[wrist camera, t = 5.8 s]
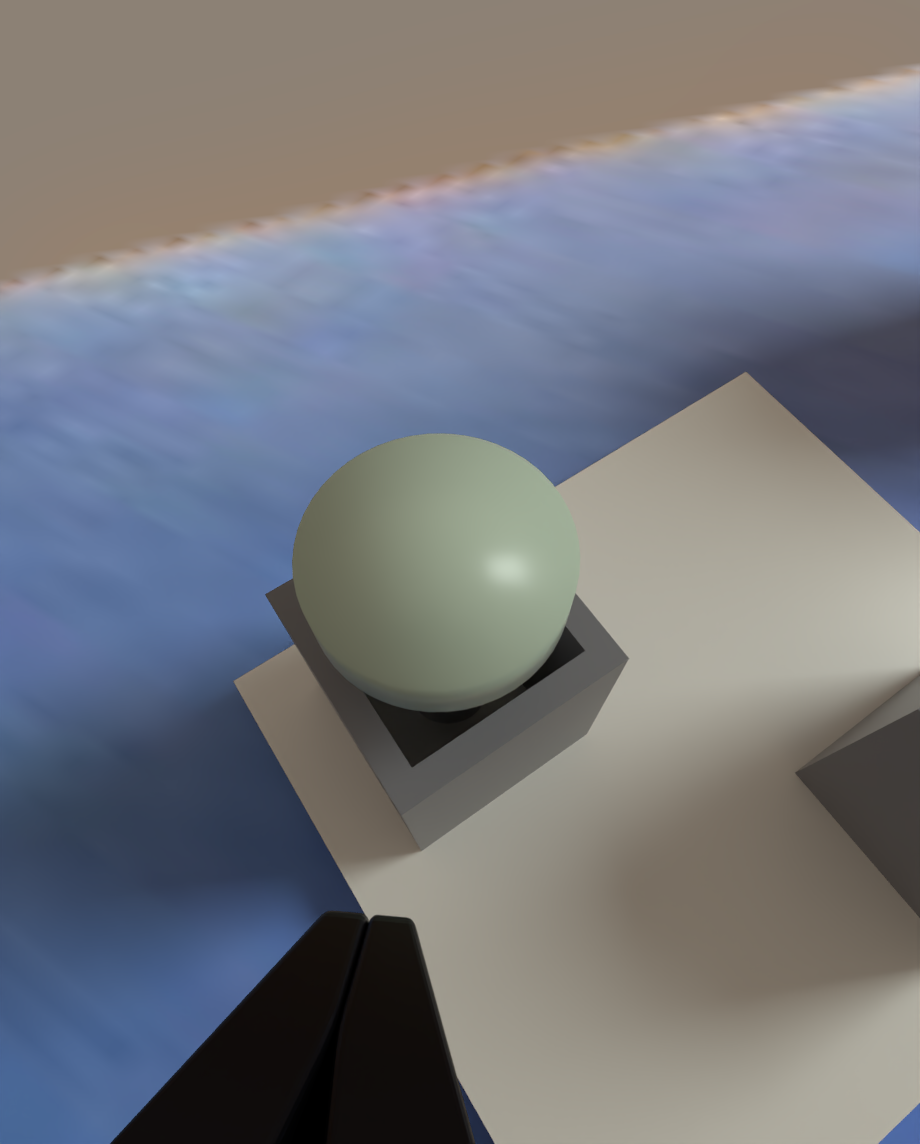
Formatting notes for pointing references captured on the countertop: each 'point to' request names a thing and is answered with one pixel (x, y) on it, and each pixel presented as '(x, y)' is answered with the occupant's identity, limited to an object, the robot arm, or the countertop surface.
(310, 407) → the countertop surface
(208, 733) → the countertop surface
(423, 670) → the sage button
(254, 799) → the countertop surface
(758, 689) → the grey button stand
